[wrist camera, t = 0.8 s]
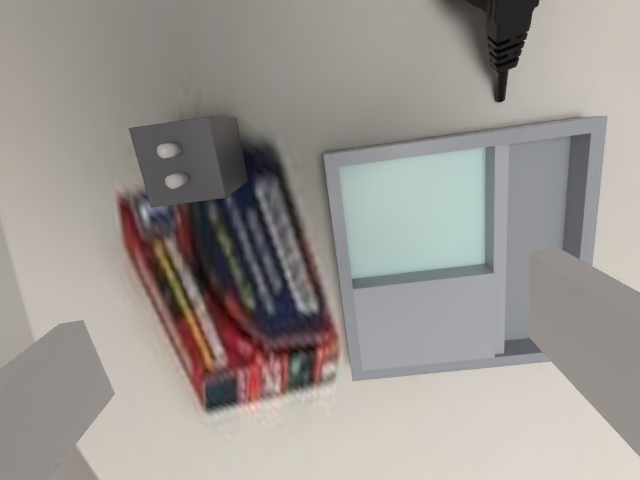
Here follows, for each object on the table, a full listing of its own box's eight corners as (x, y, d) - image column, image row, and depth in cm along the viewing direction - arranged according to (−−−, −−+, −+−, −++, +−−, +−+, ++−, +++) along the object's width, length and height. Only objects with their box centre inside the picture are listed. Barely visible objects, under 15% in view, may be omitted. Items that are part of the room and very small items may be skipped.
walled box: (323, 152, 29) (323, 155, 26) (580, 116, 28) (607, 116, 25) (350, 361, 35) (352, 380, 33) (562, 339, 34) (582, 358, 31)
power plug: (468, 118, 27) (473, -77, 18) (430, 70, 32) (419, -106, 23) (543, 90, 27) (590, -129, 17) (494, 45, 31) (510, -147, 22)
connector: (174, 127, 29) (114, 128, 21) (236, 117, 29) (199, 116, 20) (189, 188, 30) (139, 213, 22) (248, 181, 30) (218, 203, 22)
